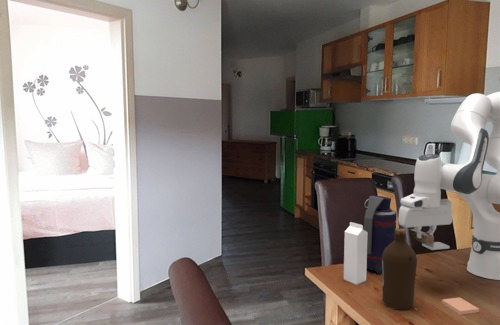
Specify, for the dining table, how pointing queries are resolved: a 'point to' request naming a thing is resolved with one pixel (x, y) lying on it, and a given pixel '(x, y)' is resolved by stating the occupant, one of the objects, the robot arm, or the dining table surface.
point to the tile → (460, 306)
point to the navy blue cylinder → (378, 229)
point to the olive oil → (399, 273)
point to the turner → (428, 241)
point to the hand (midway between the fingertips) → (424, 237)
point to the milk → (355, 254)
